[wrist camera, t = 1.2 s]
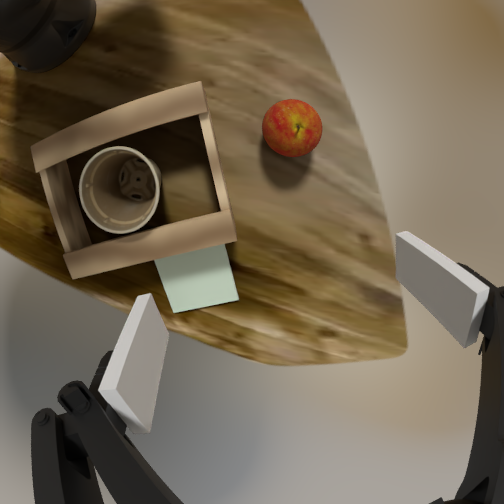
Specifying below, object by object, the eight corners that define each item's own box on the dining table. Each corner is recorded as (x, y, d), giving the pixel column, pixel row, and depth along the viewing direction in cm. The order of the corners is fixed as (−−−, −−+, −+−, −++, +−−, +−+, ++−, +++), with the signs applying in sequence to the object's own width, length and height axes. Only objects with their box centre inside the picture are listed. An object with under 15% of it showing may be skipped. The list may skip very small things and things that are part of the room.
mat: (152, 250, 40) (151, 252, 39) (222, 233, 40) (222, 235, 39) (174, 310, 44) (173, 312, 43) (238, 296, 44) (238, 299, 43)
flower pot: (117, 220, 38) (93, 242, 30) (99, 155, 34) (70, 161, 26) (180, 204, 38) (169, 223, 30) (164, 135, 35) (147, 135, 27)
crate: (56, 143, 33) (30, 146, 26) (205, 90, 33) (200, 81, 27) (91, 259, 40) (72, 279, 33) (235, 223, 40) (237, 240, 33)
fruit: (317, 111, 35) (340, 106, 28) (304, 161, 37) (324, 167, 30) (266, 96, 34) (277, 86, 26) (253, 147, 36) (260, 150, 29)
